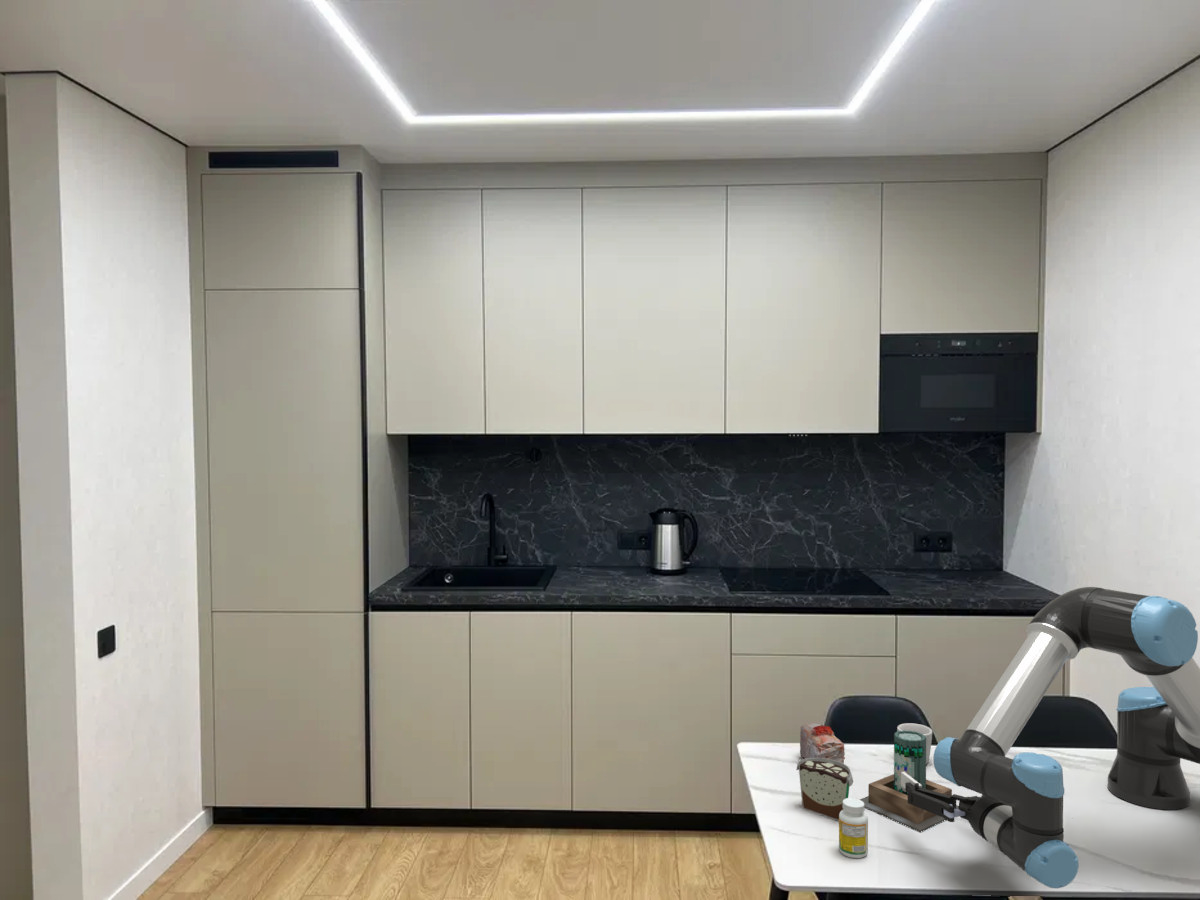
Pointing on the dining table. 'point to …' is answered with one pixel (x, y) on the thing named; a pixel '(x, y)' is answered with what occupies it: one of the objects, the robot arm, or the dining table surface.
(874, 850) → the dining table surface
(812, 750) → the food item
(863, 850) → the supplement bottle
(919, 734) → the can
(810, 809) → the food container
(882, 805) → the holder
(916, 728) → the cup
